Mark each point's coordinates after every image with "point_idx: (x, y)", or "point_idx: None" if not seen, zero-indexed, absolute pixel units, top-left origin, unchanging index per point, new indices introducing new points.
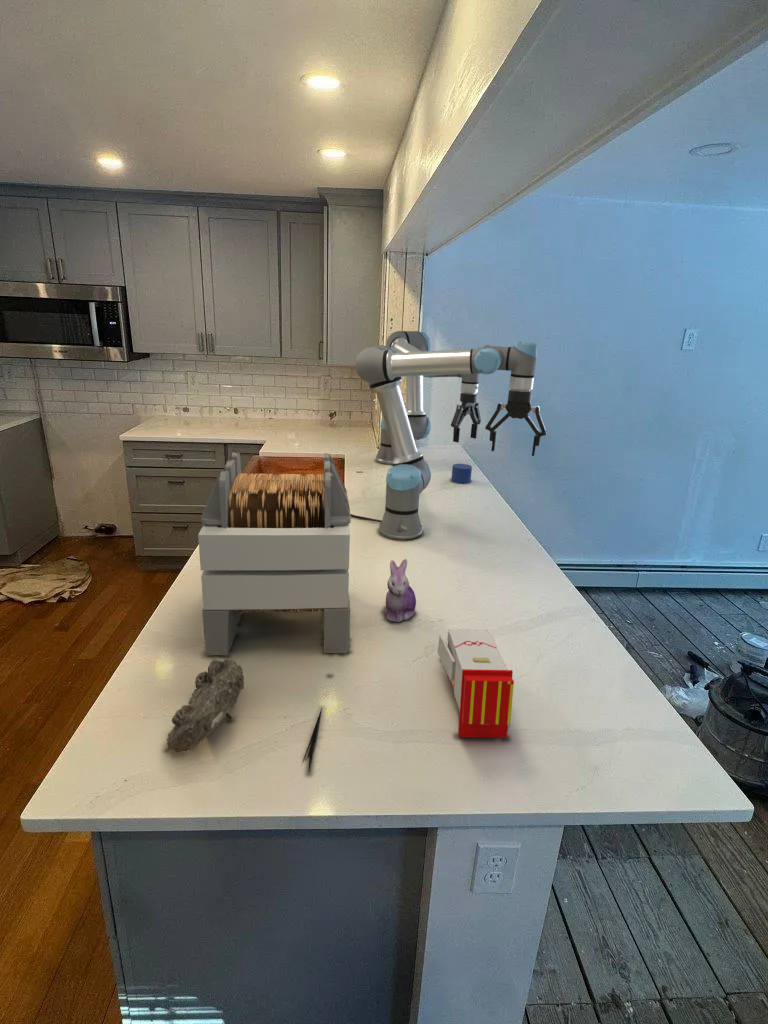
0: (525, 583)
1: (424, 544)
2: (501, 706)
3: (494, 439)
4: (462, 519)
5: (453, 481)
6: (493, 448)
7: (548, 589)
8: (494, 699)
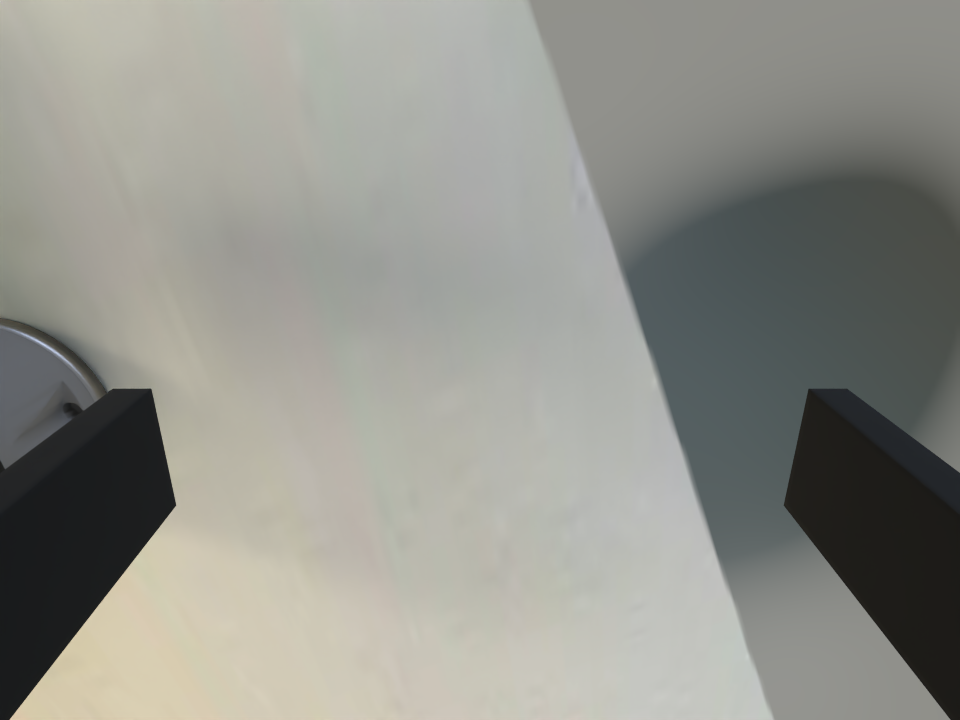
0: (609, 654)
1: (175, 495)
2: None
3: (41, 669)
4: (208, 76)
5: None
6: (146, 534)
7: (683, 665)
8: None
